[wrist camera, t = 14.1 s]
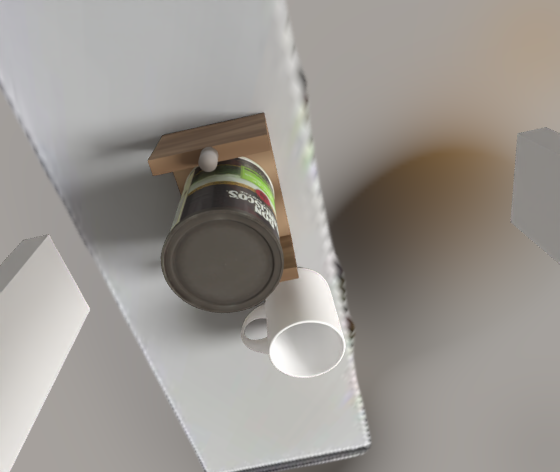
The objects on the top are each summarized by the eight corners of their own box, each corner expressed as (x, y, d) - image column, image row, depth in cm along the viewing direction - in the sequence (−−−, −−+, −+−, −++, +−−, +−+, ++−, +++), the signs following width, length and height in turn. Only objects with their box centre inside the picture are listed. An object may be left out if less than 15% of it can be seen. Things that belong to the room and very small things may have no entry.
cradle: (162, 134, 45) (142, 168, 37) (263, 112, 45) (268, 140, 36) (205, 259, 53) (197, 310, 44) (292, 241, 53) (301, 289, 44)
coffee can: (228, 133, 45) (222, 185, 32) (292, 198, 49) (308, 266, 37) (162, 195, 47) (134, 265, 35) (228, 252, 52) (223, 332, 39)
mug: (231, 280, 55) (229, 338, 46) (322, 258, 54) (338, 312, 45) (249, 328, 59) (250, 391, 50) (334, 309, 59) (351, 368, 49)
